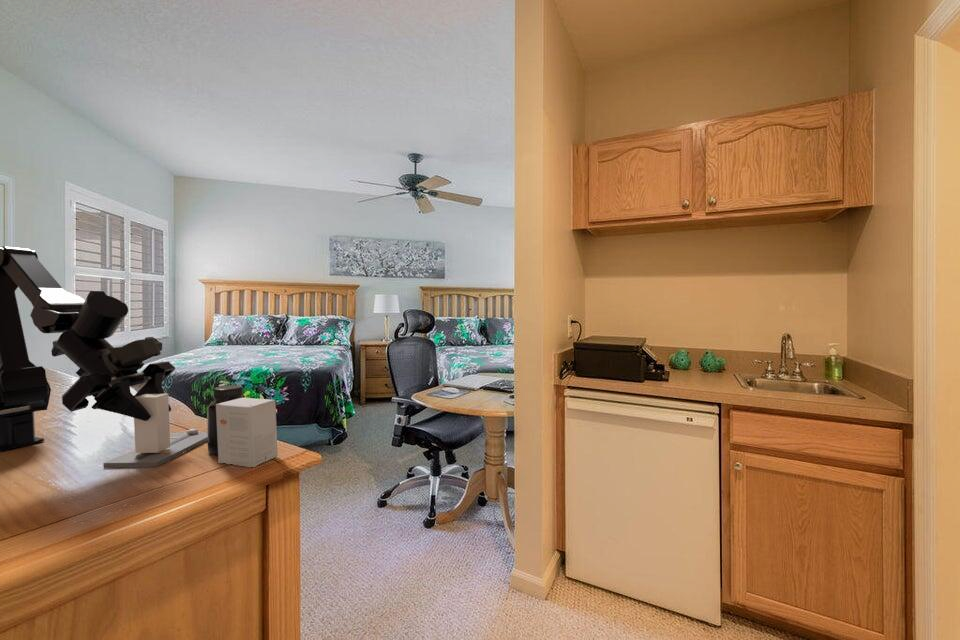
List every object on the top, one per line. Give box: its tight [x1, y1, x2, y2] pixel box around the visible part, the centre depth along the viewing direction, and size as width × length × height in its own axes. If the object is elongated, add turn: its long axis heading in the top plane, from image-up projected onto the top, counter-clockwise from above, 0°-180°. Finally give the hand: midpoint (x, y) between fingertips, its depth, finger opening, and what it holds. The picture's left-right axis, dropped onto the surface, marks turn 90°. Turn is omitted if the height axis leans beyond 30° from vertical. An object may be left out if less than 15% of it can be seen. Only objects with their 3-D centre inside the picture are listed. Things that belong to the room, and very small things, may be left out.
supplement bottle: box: [206, 384, 244, 456], centre depth 79 cm, size 7×7×12 cm
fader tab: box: [133, 393, 171, 453], centre depth 76 cm, size 3×4×10 cm
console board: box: [102, 428, 208, 469], centre depth 79 cm, size 17×9×2 cm, turn 1°
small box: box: [216, 397, 279, 468], centre depth 74 cm, size 8×6×10 cm
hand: (159, 415), depth 76 cm, fingers open, 5 cm apart
